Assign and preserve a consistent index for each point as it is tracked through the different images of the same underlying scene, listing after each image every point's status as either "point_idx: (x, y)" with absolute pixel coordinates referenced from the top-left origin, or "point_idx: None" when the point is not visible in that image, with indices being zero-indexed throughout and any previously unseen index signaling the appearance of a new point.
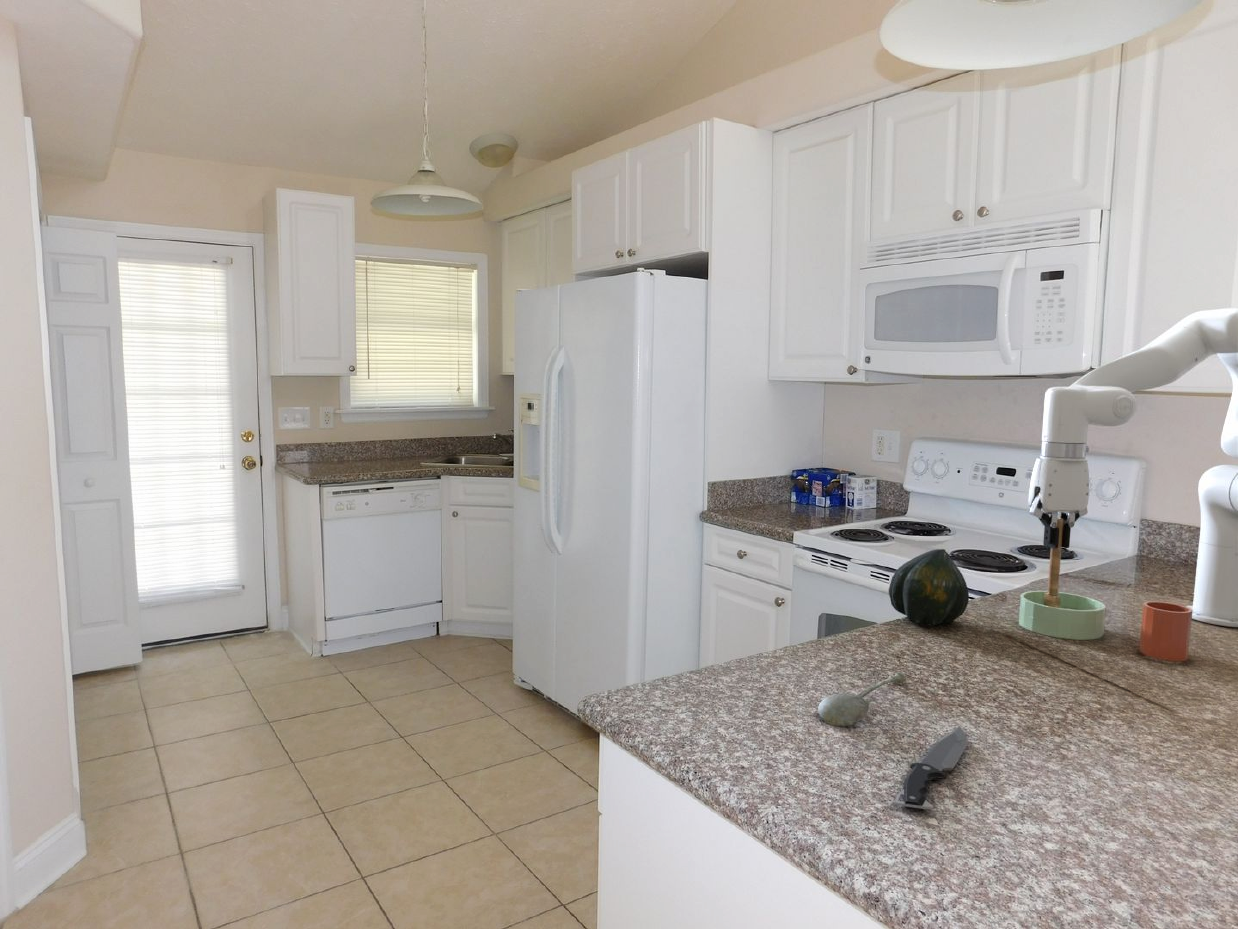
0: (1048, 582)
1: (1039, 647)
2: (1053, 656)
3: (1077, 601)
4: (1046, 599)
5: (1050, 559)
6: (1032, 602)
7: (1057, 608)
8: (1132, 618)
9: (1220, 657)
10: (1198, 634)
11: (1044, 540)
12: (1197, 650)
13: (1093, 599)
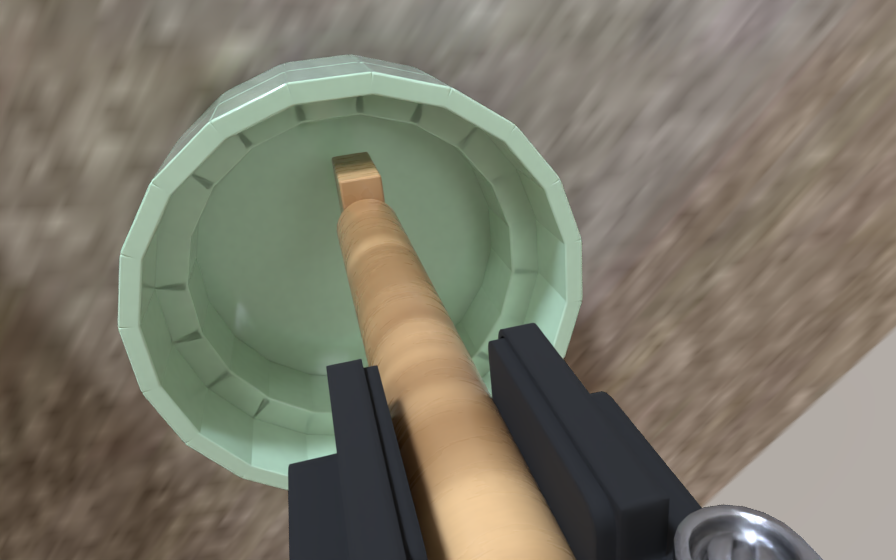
0: (346, 249)
1: (118, 465)
2: (125, 552)
3: (534, 188)
4: (339, 193)
5: (364, 346)
6: (140, 374)
7: (236, 472)
8: (853, 29)
9: (715, 477)
10: (884, 256)
11: (293, 479)
12: (710, 424)
13: (574, 279)
